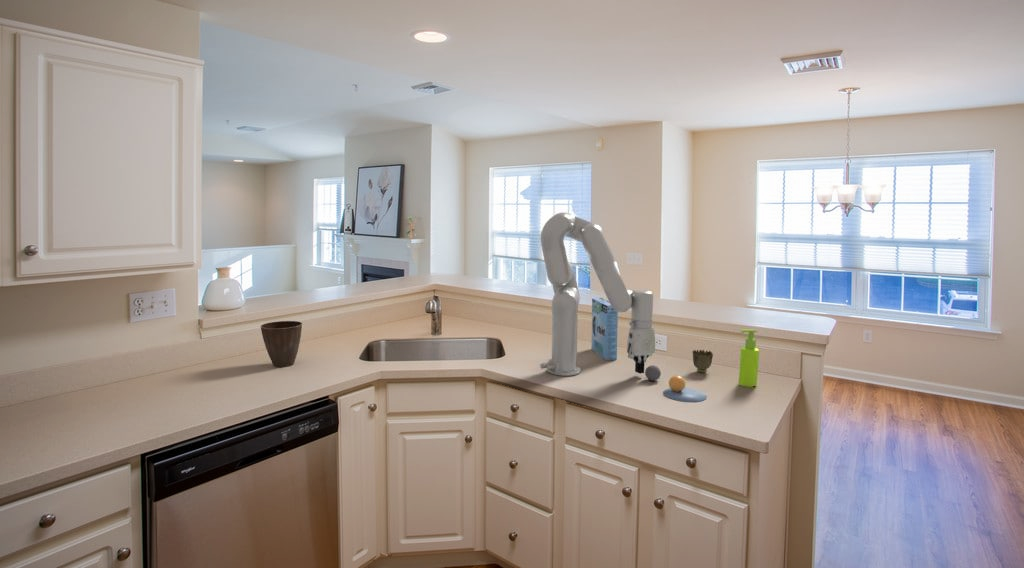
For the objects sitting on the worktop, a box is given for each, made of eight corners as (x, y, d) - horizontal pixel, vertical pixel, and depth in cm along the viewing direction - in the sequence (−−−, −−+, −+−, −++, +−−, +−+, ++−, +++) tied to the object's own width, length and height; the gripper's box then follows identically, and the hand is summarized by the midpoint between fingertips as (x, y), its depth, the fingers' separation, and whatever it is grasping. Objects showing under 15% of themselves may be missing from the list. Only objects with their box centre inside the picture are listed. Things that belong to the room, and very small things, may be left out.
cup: (713, 375, 209) (714, 355, 208) (692, 374, 211) (693, 353, 210) (710, 370, 217) (711, 350, 215) (690, 368, 218) (691, 348, 217)
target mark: (684, 404, 178) (684, 404, 178) (654, 391, 191) (654, 391, 191) (716, 398, 185) (716, 397, 185) (684, 385, 197) (685, 385, 197)
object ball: (664, 376, 192) (666, 392, 192) (676, 377, 187) (677, 393, 187) (676, 373, 194) (677, 389, 194) (688, 375, 190) (689, 391, 189)
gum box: (616, 360, 230) (618, 305, 226) (605, 360, 229) (606, 305, 225) (601, 348, 248) (602, 297, 245) (590, 348, 248) (591, 297, 244)
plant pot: (253, 367, 215) (251, 326, 213) (283, 357, 228) (281, 319, 226) (283, 371, 209) (281, 330, 207) (312, 361, 223) (310, 322, 221)
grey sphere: (642, 364, 203) (641, 379, 203) (654, 365, 199) (653, 381, 199) (652, 364, 207) (651, 379, 206) (664, 366, 202) (663, 381, 202)
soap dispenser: (733, 382, 202) (736, 327, 199) (751, 381, 202) (755, 327, 200) (740, 387, 196) (744, 331, 193) (759, 387, 197) (763, 331, 194)
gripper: (632, 327, 198) (630, 377, 201) (664, 324, 205) (661, 372, 208) (618, 323, 205) (617, 372, 207) (650, 320, 212) (648, 367, 214)
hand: (639, 372), depth 208 cm, fingers closed
